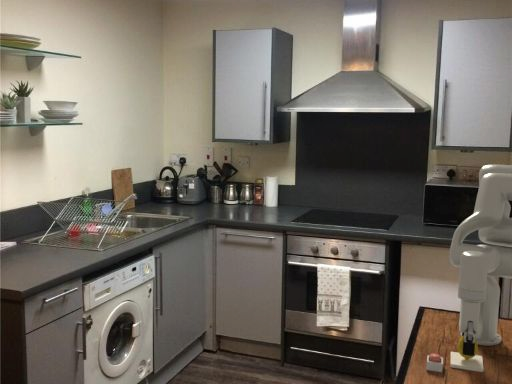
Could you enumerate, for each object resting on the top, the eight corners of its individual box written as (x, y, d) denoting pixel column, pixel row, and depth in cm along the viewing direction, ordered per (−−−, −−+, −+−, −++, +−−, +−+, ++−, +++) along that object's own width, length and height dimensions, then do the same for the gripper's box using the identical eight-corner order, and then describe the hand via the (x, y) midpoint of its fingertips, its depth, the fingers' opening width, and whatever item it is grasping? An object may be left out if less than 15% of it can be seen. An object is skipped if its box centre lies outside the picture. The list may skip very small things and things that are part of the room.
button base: (426, 363, 168) (427, 355, 167) (442, 365, 166) (443, 357, 166) (426, 369, 164) (426, 361, 163) (442, 372, 162) (442, 363, 162)
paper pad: (450, 354, 174) (450, 351, 174) (481, 359, 171) (481, 355, 171) (450, 367, 166) (450, 364, 165) (483, 372, 163) (483, 368, 163)
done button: (430, 358, 166) (430, 352, 166) (440, 359, 166) (440, 354, 165) (429, 362, 164) (430, 356, 164) (439, 363, 163) (440, 358, 163)
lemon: (453, 358, 169) (455, 333, 168) (463, 354, 172) (466, 329, 171) (469, 365, 164) (471, 339, 163) (480, 360, 168) (482, 335, 167)
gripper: (457, 282, 174) (454, 335, 177) (458, 301, 158) (454, 358, 161) (483, 285, 172) (479, 338, 175) (487, 304, 156) (482, 362, 158)
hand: (467, 348), depth 168 cm, fingers open, 9 cm apart
